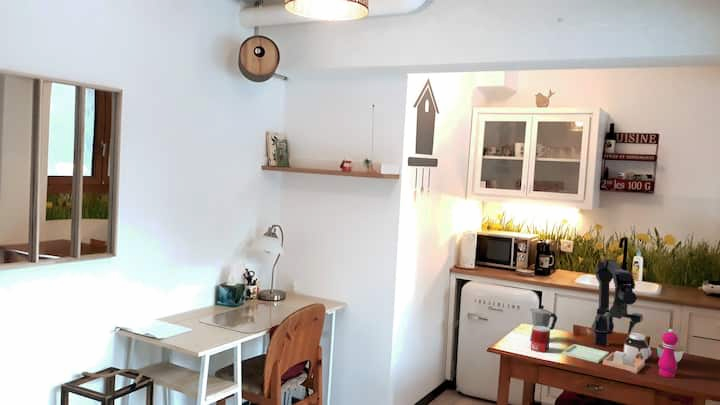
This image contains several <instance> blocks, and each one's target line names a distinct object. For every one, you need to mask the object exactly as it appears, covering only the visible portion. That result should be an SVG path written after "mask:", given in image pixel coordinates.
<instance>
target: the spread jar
mask: <svg viewBox="0 0 720 405" xmlns="http://www.w3.org/2000/svg"><path fill="white" fill-rule="evenodd" d="M623 352H624V353H626V356H628V357H633V358H637V359H641V360H645V361H646V360H647V359H648V358H650V357H651V355H652V349H651V347H650V346H649V344H648V342H647V340H646V335H645V334H642V333H638V332H631V333H630V335H628V337H627V338H626V339H625V341H624V344H623Z"/></svg>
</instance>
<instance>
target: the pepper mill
mask: <svg viewBox="0 0 720 405" xmlns="http://www.w3.org/2000/svg"><path fill="white" fill-rule="evenodd" d="M661 337H662V338H661V340H662V342H664V343H663V347H664V351H663V354H662V356H661V357H660V358H659V360H658V362H657V364H658V367H659V369H658V374H659V375H660V376H662V377H665V378H675V377H676V376H675V375H676V372H675V371H676V369H678V362H676V359H675V355H674V350H675V348H676V345H675V344H678V342H679V338H678V336H677V334H676V333H674V330H673V329H672V328H669V329H668V331H667V332H664V333H663V334H662V336H661Z"/></svg>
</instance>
